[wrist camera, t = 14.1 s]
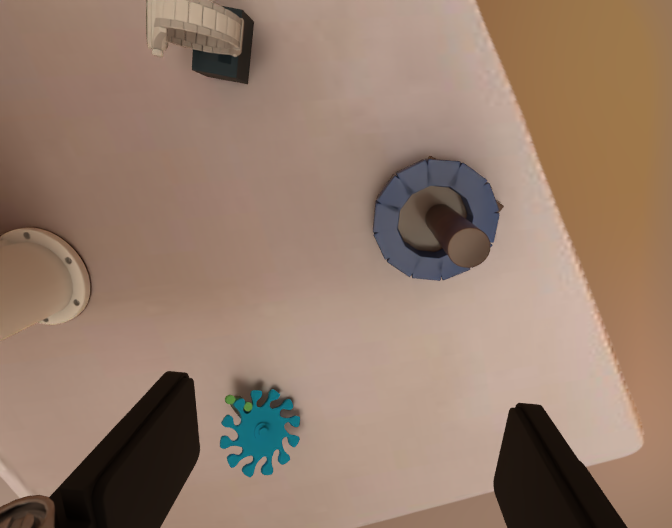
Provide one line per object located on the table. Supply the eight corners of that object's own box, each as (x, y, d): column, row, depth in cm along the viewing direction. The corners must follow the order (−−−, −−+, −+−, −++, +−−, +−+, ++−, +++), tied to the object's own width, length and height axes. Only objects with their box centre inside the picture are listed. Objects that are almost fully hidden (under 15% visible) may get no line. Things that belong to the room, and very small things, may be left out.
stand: (379, 227, 39) (381, 263, 27) (429, 155, 37) (458, 158, 24) (445, 271, 40) (478, 326, 28) (500, 204, 37) (563, 231, 25)
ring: (352, 232, 39) (351, 237, 36) (420, 135, 35) (424, 134, 33) (440, 292, 40) (444, 301, 37) (515, 204, 36) (525, 207, 34)
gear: (317, 432, 46) (256, 499, 41) (302, 426, 52) (246, 485, 47) (264, 365, 46) (196, 425, 41) (254, 366, 51) (193, 420, 46)
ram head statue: (191, 10, 35) (112, -50, 24) (271, 25, 35) (226, -30, 24) (188, 73, 37) (113, 42, 26) (264, 88, 36) (220, 62, 26)
